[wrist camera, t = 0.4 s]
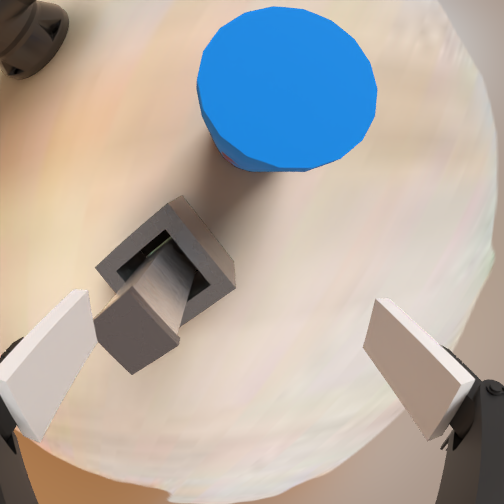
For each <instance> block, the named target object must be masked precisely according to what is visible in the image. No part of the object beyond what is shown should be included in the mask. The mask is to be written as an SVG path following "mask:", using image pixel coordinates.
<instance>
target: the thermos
mask: <svg viewBox="0 0 504 504" xmlns="http://www.w3.org/2000/svg"><path fill="white" fill-rule="evenodd" d="M196 88H197V94H198V99H199V104H200V109H201V114H202V117H203V119H204V122H205V124H206V126H207V128H208V130H209V132H210V134H211V136H212V139H213V141H214V143H215V145H216V147H217V148H218V150H219V151H220V153H221V155H222V156H223V158H224V159H226V160H227V161H228V162H230V163H231V164H232V165H234V166H235V167H237V168H240V169H243V170H246V171H249V172H306V171H308V170H311V169H314V168H317V167H320V166H323V165H325V164H328V163H331V162H334V161H336V160H338V159H340V158H342V157H343V156H344V155H345V154H347V153H348V152H349V151H350V150H351V149H353V148H354V147H355V146H356V145H357V144H358V143H360V142H361V141H362V140H363V138H364V136H365V134H366V132H367V130H368V129H369V127H370V125H371V123H372V121H373V119H374V117H375V110H376V99H377V86H376V82H375V78H374V75H373V71H372V67H371V64H370V62H369V60H368V59H367V57H366V56H365V54H364V53H363V51H362V50H361V48H360V47H359V45H358V44H357V42H356V41H355V39H354V38H352V37H351V36H350V35H349V34H348V33H346V32H345V31H344V30H343V29H341V28H340V27H339V26H338V25H336V24H335V23H334V22H332V21H331V20H329V19H326V18H324V17H322V16H319V15H317V14H314V13H312V12H309V11H307V10H304V9H297V8H286V7H268V8H264V9H259V10H255V11H250V12H246V13H244V14H242V15H240V16H239V17H237V18H235V19H234V20H232V21H231V22H229V23H227V24H226V25H224V26H223V27H221V28H220V29H219V30H218V32H217V33H216V34H215V36H214V37H213V38H212V40H211V41H210V43H209V44H208V45H207V47H206V48H205V50H204V51H203V55H202V59H201V64H200V68H199V73H198V77H197V87H196Z"/></svg>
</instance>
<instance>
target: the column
mask: <svg viewBox="0 0 504 504" xmlns="http://www.w3.org/2000/svg"><path fill="white" fill-rule="evenodd" d="M195 272H196V266H195V265H194V264H193V263H192V262H191V260H190V259H189V258H188V257H187V255H186V254H185V253H184V252H183V251H182V249H181V248H180V247H179V246H178V244H177V243H176V242H175V241H174V239H173V238H172V237H171V236H170V237H169V238H168V239H167V240H165V241H164V242H163V243H162V244H160V245H159V246H158V247H157V248H156V249H154V250H153V251H152V252H151V253H149V254H148V255H147V258H146V259H145V260H144V261H143V262H142V263H141V265H140V266H139V267H138V268H137V269H136V270H135V272H134V273H133V274H132V275H131V276H130V277H129V279H128V280H127V281H126V282H125V283H124V284H123V286H122V287H121V288H120V289H119V290H118V292H117V293H116V294H115V295H114V296H113V298H112V299H111V300H110V301H109V303H108V304H107V305H106V306H105V308H104V309H103V310H102V311H101V312H100V313H99V314H98V315H97V316H96V317H94V318H93V323H94V328H95V332H96V337H97V341H98V342H99V343H100V344H101V345H102V346H103V347H104V348H105V349H106V350H107V351H108V352H109V353H110V354H111V355H112V356H113V357H114V358H115V359H116V360H117V361H118V362H119V363H120V364H121V365H122V366H123V367H124V368H125V369H126V370H127V371H128V372H129V373H130V374H131V375H133V374H134V373H136V372H137V371H139V370H141V369H142V368H144V367H145V366H147V365H149V364H150V363H152V362H153V361H155V360H156V359H158V358H160V357H161V356H163V355H164V354H166V353H167V352H169V351H170V350H172V349H174V348H175V347H177V346H178V345H179V341H180V337H179V336H178V335H177V334H178V331H179V327H180V323H181V320H182V316H183V313H184V309H185V306H186V302H187V299H188V295H189V292H190V288H191V285H192V282H193V278H194V275H195Z"/></svg>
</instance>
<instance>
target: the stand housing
mask: <svg viewBox="0 0 504 504" xmlns="http://www.w3.org/2000/svg"><path fill="white" fill-rule="evenodd" d="M165 229H166V231H167V232H168V233H169V234H170V236H171V237H172V238H173V239H174V241H175V242H176V243H177V244H178V246H179V247H180V248H181V249H182V251H183V252H184V253H185V254H186V255H187V257H188V258H189V259H190V260H191V262H192V263H193V264H194V265H195V266H196V268H197V269H198V270H199V271H198V272H196V273H195V275H194V278H193V282H192V285H191V288H190V292H189V295H188V299H187V302H186V306H185V309H184V313H183V316H182V320H181V323H180V327H181V326H182V325H183V324H185V323H186V322H188V321H189V320H191V319H192V318H194V317H195V316H197V315H198V314H199V313H201V312H202V311H204V310H205V309H207V308H208V307H210V306H211V305H212V304H214V303H215V302H217V301H218V300H220V299H221V298H222V297H224V296H225V295H227V294H228V293H230V292H231V291H232V290H234V289H235V288H236V283H235V269H234V261H233V260H232V258H231V257H230V256H229V255H228V253H227V252H226V251H225V250H224V248H223V247H222V246H221V244H220V243H219V242H218V241H217V239H216V238H215V237H214V236H213V234H212V233H211V232H210V230H209V229H208V228H207V227H206V225H205V224H204V223H203V221H202V220H201V219H200V218H199V216H198V215H197V214H196V212H195V211H194V210H193V209H192V207H191V206H190V205H189V203H188V202H187V201H186V199H185V198H184V197H183V196H180V197H178V198H176V199H175V200H173V201H171V202H169V203H167V204H166V205H165V206H164V207H163V208H161V209H160V210H159V211H158V212H157V213H155V214H154V215H153V216H152V217H151V218H149V219H148V220H147V221H146V222H145V223H144V224H142V225H141V226H140V227H139V228H138V229H137V230H136V231H134V232H133V233H132V234H131V235H130V236H129V237H128V238H127V239H125V240H124V241H123V242H122V243H121V244H120V245H119V246H118V247H117V248H115V249H114V250H113V251H112V252H111V253H110V254H109V255H108V256H107V257H106V258H105V259H104V260H103V261H101V262H100V263H99V264H98V265H97V266H96V267H95V268H96V270H97V271H98V272H99V273H100V275H101V276H102V277H103V278H104V279H105V281H106V282H107V283H108V284H109V285H110V287H111V288H112V289H113V290H114V291H115V293H117V292H118V290H119V289H120V288H121V287H122V286H123V284H124V283H125V282H126V281H127V280H128V279H129V277H130V276H131V275H132V274H133V273H134V272H135V270H136V269H137V268H138V267H139V266H140V265H141V263H142V262H143V261H144V260H145V259H146V256H145V255H144V254H143V253H142V251H141V249H142V248H143V247H144V246H146V245H147V244H148V243H149V242H150V241H152V240H153V239H154V238H155V237H156V236H158V235H159V234H160V233H161V232H162V231H164V230H165Z"/></svg>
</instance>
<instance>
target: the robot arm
mask: <svg viewBox="0 0 504 504" xmlns="http://www.w3.org/2000/svg"><path fill="white" fill-rule="evenodd" d="M68 25H69V19H68V15H67V13H66V12H65V11H64V10H63V9H62V8H61V7H60V6H58V5H56V4H53V3H47V2H42V1H36V0H0V69H1V71H2V72H3V73H4V74H5V75H7V76H9V77H12V78H15V79H24V78H27V77H29V76H31V75H33V74H35V73H36V72H38V71H39V70H40V69H42V68H43V67H44V66H45V65H46V64H47V63H48V62H49V61H50V60H51V58H52V57H53V56H54V55H55V53H56V52H57V51H58V49H59V48H60V46H61V44H62V42H63V40H64V38H65V36H66V33H67V30H68ZM96 344H97V337H96V332H95V328H94V323H93V317H92V312H91V306H90V300H89V294H88V290H79V289H74V290H73V291H71V292H70V293H69V294H68V295H67V296H66V297H65V298H64V299H63V300H62V301H61V302H60V303H59V304H58V305H56V306H55V307H54V308H53V309H52V310H51V311H50V312H49V313H48V314H47V315H46V316H45V317H44V318H43V319H42V320H41V321H40V322H39V323H38V324H37V325H36V326H35V327H34V328H33V329H32V330H31V331H30V332H29V333H28V334H27V335H26V336H25V337H22V338H20V339H19V340H17V341H15V342H14V343H12V344H11V346H10V347H9V348H8V349H7V350H6V352H4V353H3V354H2V355H1V358H0V504H38V502H37V499H36V497H35V494H34V491H33V489H32V486H31V483H30V481H29V478H28V475H27V472H26V469H25V466H24V462H23V459H22V456H21V452H20V448H19V445H18V441H17V437H16V435H15V433H14V432H13V431H14V429H15V427H16V425H17V426H18V428H19V430H20V431H21V433H22V434H23V436H25V437H27V438H29V439H32V440H34V441H37V442H41V440H42V438H43V436H44V434H45V432H46V430H47V428H48V426H49V425H50V423H51V421H52V419H53V417H54V415H55V413H56V411H57V410H58V408H59V406H60V404H61V402H62V401H63V399H64V397H65V395H66V394H67V392H68V390H69V388H70V387H71V385H72V383H73V381H74V380H75V378H76V376H77V375H78V373H79V371H80V370H81V368H82V366H83V365H84V363H85V361H86V360H87V358H88V357H89V355H90V353H91V352H92V350H93V349H94V347H95V345H96ZM363 348H364V350H365V351H366V353H367V354H368V355H369V357H370V358H371V360H372V361H373V362H374V364H375V365H376V367H377V368H378V370H379V371H380V372H381V374H382V375H383V377H384V378H385V380H386V381H387V382H388V384H389V385H390V387H391V388H392V390H393V391H394V393H395V394H396V395H397V397H398V398H399V400H400V401H401V403H402V404H403V406H404V407H405V409H406V410H407V411H408V413H409V415H410V416H411V417H412V419H413V421H414V422H415V424H416V425H417V426H418V428H419V430H420V431H421V432H422V434H423V436H424V437H425V439H426V440H427V441H429V440H432V439H434V438H437V437H439V436H442V435H443V433H444V432H445V430H446V429H447V427H448V425H449V424H450V425H451V427H452V428H453V430H452V432H451V433H450V435H449V436H448V437H447V439H446V440H445V442H444V443H443V444H442V446H441V448H440V449H441V450H442V449H443V448H444V447H445V446H446V444H448V448H447V449H446V451H447V455H446V460H445V466H444V470H443V475H442V479H441V484H440V489H439V493H438V496H437V500H436V503H435V504H504V386H503V385H502V384H501V383H499V382H497V381H494V380H484V381H483V382H482V381H481V380H480V379H479V378H478V377H477V376H476V375H475V374H474V373H473V372H472V371H471V370H470V369H469V368H468V367H467V366H466V365H465V364H464V363H463V364H462V361H461V360H460V359H459V358H456V356H455V355H454V354H453V353H452V352H451V351H450V350H449V349H447V348H445V347H444V346H442V345H440V344H439V343H438V342H437V341H435V340H434V339H433V338H432V337H431V336H430V335H429V334H428V333H427V332H426V331H425V330H424V329H422V328H421V327H420V326H419V325H418V324H417V323H416V322H415V321H414V320H413V319H412V318H410V317H409V316H408V315H407V314H406V313H405V312H404V311H403V310H401V309H400V308H399V307H398V306H397V305H396V304H395V303H394V302H392V301H391V300H390V299H389V298H378V299H375V303H374V307H373V311H372V315H371V319H370V323H369V327H368V331H367V334H366V338H365V342H364V345H363Z"/></svg>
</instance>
